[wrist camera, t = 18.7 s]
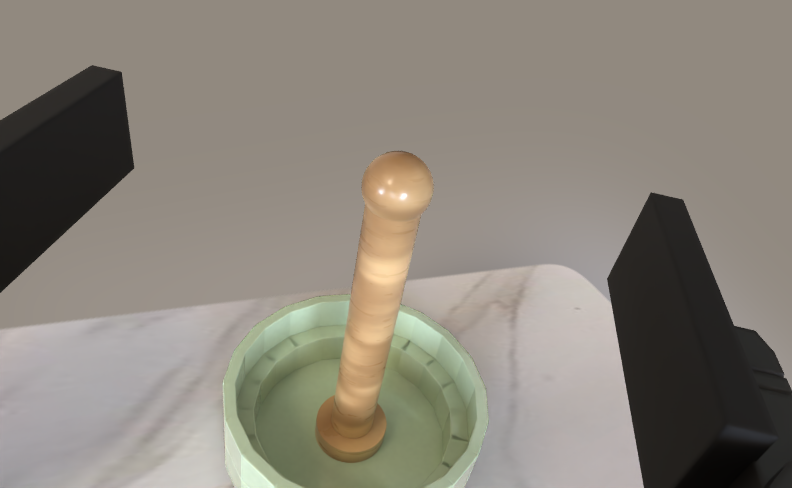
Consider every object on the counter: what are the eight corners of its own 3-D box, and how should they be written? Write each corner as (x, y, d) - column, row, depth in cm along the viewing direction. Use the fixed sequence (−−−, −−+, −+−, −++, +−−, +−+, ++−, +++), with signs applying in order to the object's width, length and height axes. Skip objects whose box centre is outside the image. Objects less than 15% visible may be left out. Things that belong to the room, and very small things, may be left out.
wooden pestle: (397, 431, 38) (473, 162, 26) (351, 477, 35) (413, 197, 23) (347, 391, 40) (396, 122, 28) (300, 431, 37) (330, 149, 25)
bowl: (509, 439, 40) (533, 388, 37) (358, 630, 30) (373, 583, 26) (343, 317, 47) (351, 264, 43) (171, 438, 36) (164, 381, 33)
